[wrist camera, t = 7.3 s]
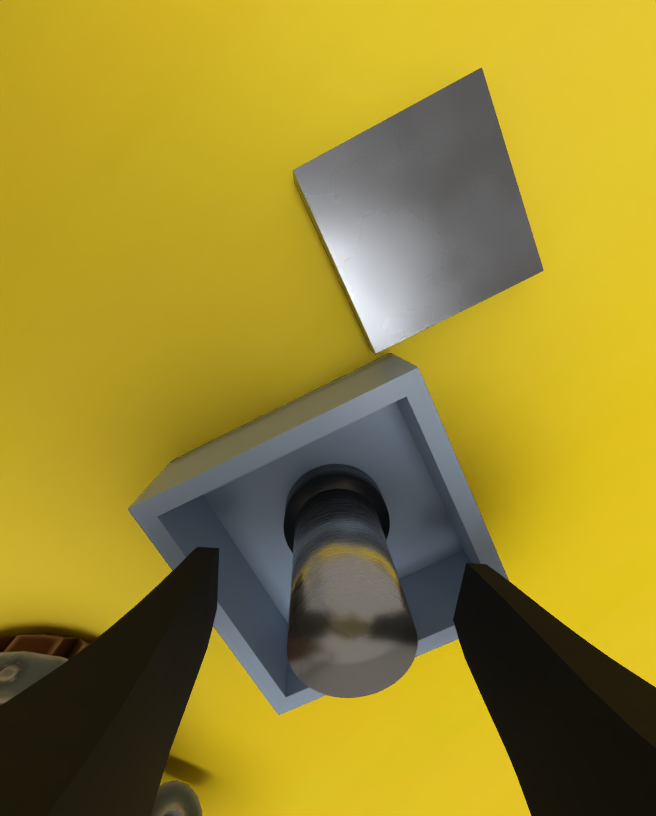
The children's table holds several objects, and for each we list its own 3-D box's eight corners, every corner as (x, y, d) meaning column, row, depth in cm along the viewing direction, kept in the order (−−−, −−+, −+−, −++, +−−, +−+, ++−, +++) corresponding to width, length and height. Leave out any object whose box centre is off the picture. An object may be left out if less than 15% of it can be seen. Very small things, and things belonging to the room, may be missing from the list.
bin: (172, 460, 14) (127, 508, 10) (390, 353, 13) (418, 367, 10) (284, 630, 16) (278, 715, 13) (476, 546, 16) (522, 611, 12)
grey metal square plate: (294, 181, 12) (293, 170, 11) (467, 88, 11) (481, 67, 10) (370, 350, 13) (375, 353, 12) (525, 273, 13) (543, 270, 12)
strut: (279, 545, 14) (259, 704, 9) (292, 457, 13) (280, 569, 8) (372, 556, 15) (414, 715, 9) (392, 470, 14) (453, 586, 8)
